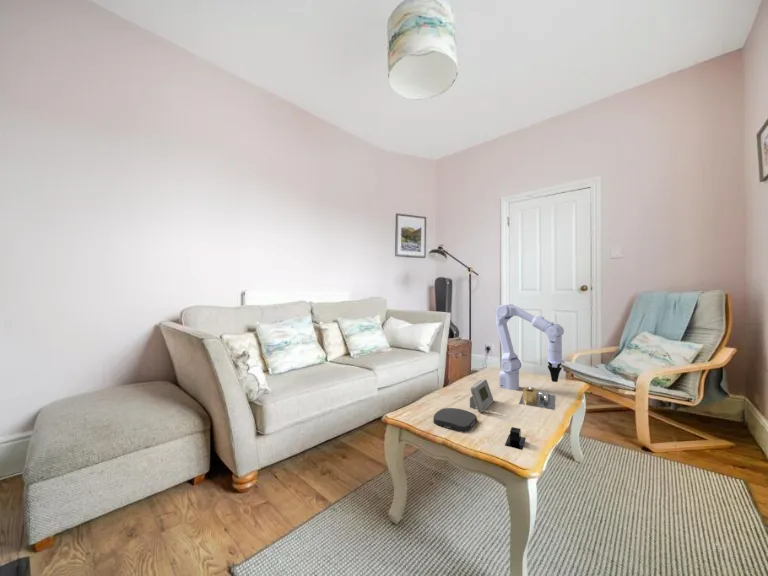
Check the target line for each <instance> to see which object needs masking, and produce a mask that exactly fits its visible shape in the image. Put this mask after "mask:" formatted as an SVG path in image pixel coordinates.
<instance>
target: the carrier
mask: <svg viewBox="0 0 768 576" xmlns="http://www.w3.org/2000/svg"><path fill="white" fill-rule="evenodd" d="M527 388H528V389H534V390H536V391H537V403H536V404H530V403H526V402H524V401H523V393H522V394H521V397H520V400H519V403H518V404H519V405H523V406H530V407H534V408H535V407H536V408H541V409H547V410H552V411H555V410H556V395H553V394H551V393H549V392H548V391H543V390H538V388H535V387H531V386H526V387H524V388H523V389H527Z"/></svg>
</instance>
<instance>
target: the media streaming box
mask: <svg viewBox="0 0 768 576" xmlns="http://www.w3.org/2000/svg"><path fill="white" fill-rule="evenodd" d="M477 422H478V420H477V414H475V413H473V412H471V411H468V410H465V409H462V408H455V407H446V408H445V407H444V408H442V409H439V410H438V411H436V412H435V413H434V415H433V424H435V425H437V426H438V427H442V428H446V429H450V430H453V431H457V432H468V431H470V430H471V429H472V428H473V427H474V426H475V425H476V424H477Z"/></svg>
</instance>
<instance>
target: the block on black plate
mask: <svg viewBox="0 0 768 576" xmlns="http://www.w3.org/2000/svg"><path fill="white" fill-rule="evenodd" d="M526 440H527V439H526V437H523V436H522V429H521V428H518V427H514V426H511V428H510V430H509V434H508V435H507V439H506V441H505V444H504V446H505V447H508V448H514V449H517V450H521V451H523V450H524V446H525V442H526Z"/></svg>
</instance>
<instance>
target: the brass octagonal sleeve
mask: <svg viewBox="0 0 768 576" xmlns="http://www.w3.org/2000/svg"><path fill="white" fill-rule="evenodd" d="M537 392H538V390H537V391H536V390H534V389H528V388H527V389H524V388H523V389H522V394H523V401H524V402H526V403H530V404H536V403H537Z"/></svg>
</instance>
